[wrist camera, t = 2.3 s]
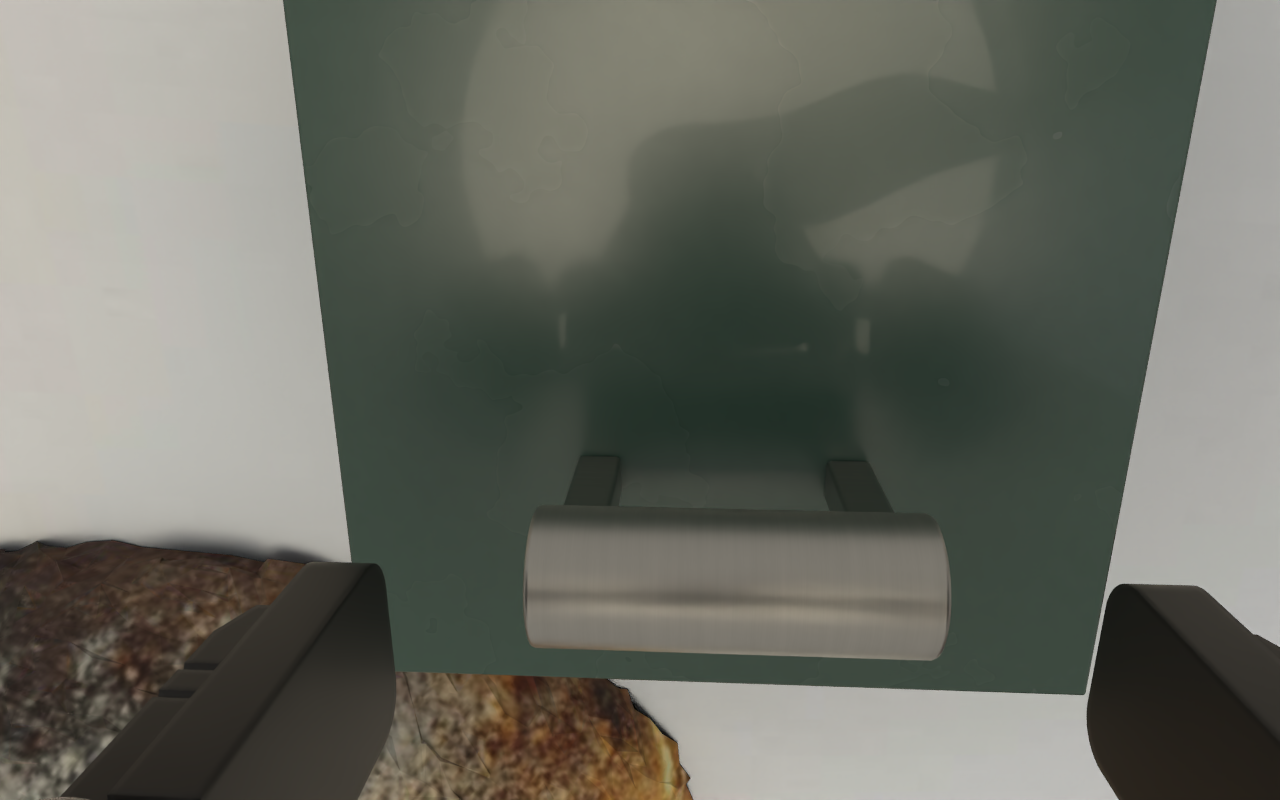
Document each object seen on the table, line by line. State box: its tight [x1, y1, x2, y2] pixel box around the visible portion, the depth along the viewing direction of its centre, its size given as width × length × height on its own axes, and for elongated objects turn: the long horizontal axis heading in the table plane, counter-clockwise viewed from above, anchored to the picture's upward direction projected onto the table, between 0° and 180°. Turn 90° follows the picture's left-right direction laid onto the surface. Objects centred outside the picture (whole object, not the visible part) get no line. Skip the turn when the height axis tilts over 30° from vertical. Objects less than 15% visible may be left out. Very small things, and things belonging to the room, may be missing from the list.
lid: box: [283, 0, 1217, 695], centre depth 11 cm, size 17×13×5 cm
